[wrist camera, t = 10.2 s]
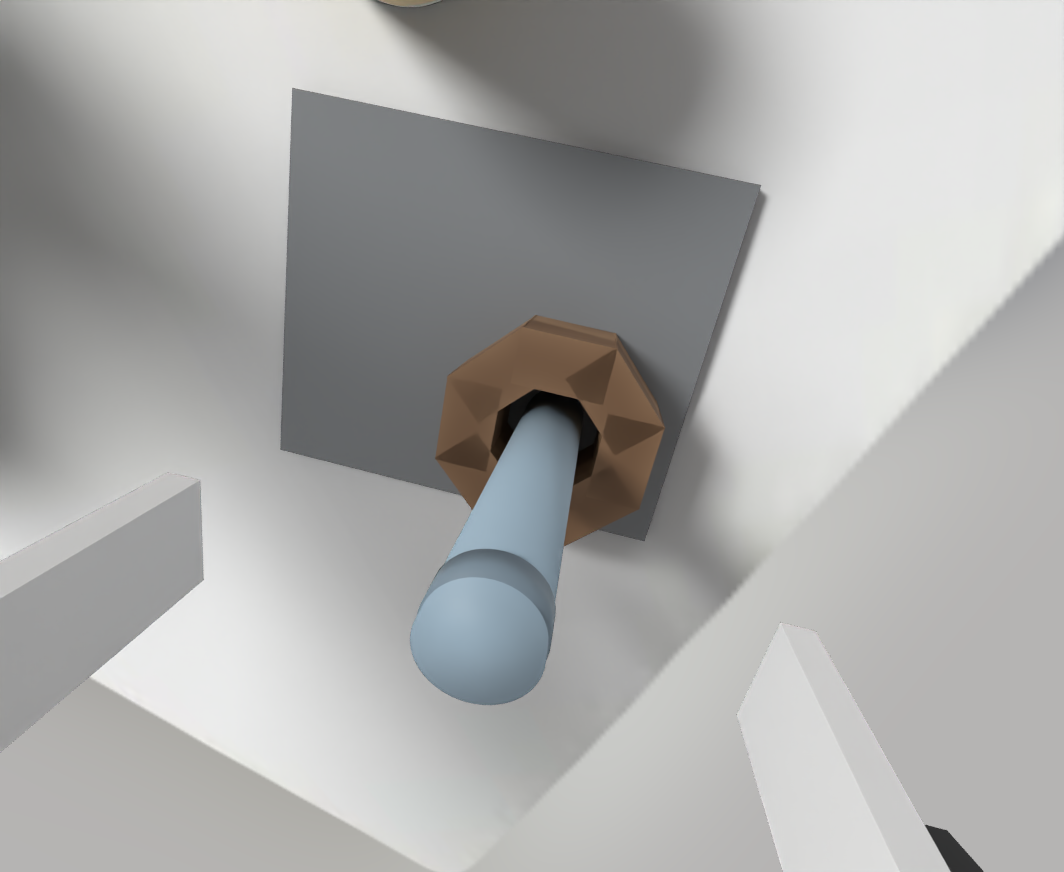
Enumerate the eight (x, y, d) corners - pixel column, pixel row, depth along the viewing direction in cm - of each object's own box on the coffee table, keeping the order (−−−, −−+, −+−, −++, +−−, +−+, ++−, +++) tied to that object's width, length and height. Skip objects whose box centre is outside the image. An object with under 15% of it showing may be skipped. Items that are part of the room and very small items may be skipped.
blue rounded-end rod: (519, 436, 26) (400, 685, 11) (531, 380, 25) (416, 574, 10) (576, 450, 26) (532, 722, 11) (590, 395, 25) (562, 612, 10)
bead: (451, 475, 27) (426, 511, 24) (480, 301, 24) (456, 311, 20) (621, 517, 27) (623, 561, 23) (673, 346, 24) (685, 363, 20)
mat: (286, 445, 29) (280, 449, 28) (300, 91, 23) (292, 87, 22) (643, 535, 28) (644, 541, 27) (756, 187, 22) (760, 185, 21)
